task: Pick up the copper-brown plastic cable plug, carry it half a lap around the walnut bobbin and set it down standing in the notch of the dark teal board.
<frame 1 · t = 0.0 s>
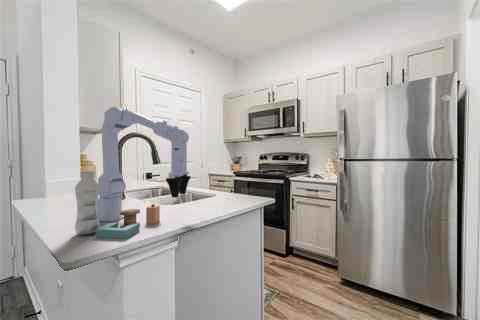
hand: (178, 195, 85), 10 cm above the counter, fingers open, 7 cm apart
plastic bottle: (87, 234, 71), on the counter
notch board: (118, 234, 71), on the counter
plug: (153, 222, 85), on the counter
bobbin: (130, 227, 78), on the counter
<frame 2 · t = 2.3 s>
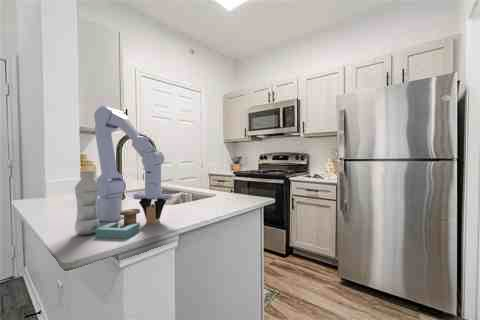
hand: (153, 218, 85), 1 cm above the counter, fingers closed on plug, 3 cm apart
plug: (153, 222, 85), on the counter, touching gripper
everything else where it was.
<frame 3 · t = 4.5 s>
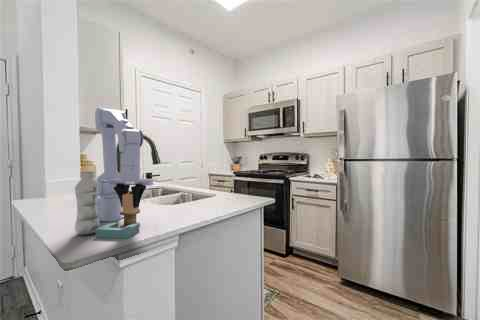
hand: (130, 207, 73), 8 cm above the counter, fingers closed on plug, 3 cm apart
plug: (130, 211, 73), point 7 cm above the counter, touching gripper
everything else where it was.
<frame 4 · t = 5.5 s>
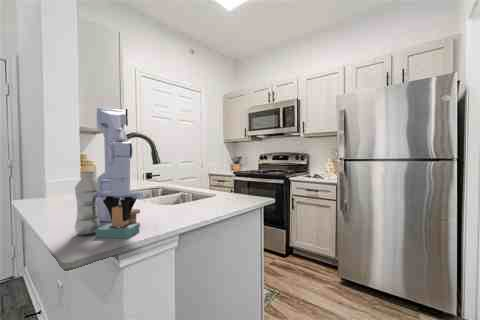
hand: (120, 220, 72), 4 cm above the counter, fingers closed on plug, 3 cm apart
plug: (120, 224, 72), point 3 cm above the counter, touching gripper
everything else where it was.
when the fingers open (3 cm above the counter, at t = 6.5 s): plug drops 1 cm, resting in notch board.
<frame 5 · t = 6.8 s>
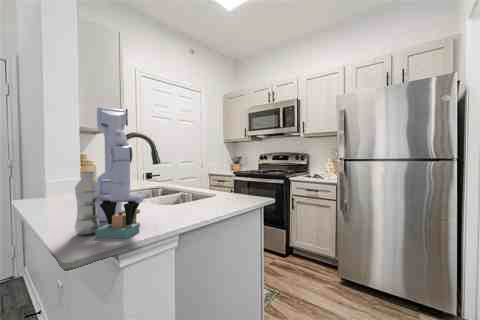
hand: (120, 224, 72), 3 cm above the counter, fingers open, 6 cm apart
plug: (120, 233, 72), resting in notch board
everything else where it was.
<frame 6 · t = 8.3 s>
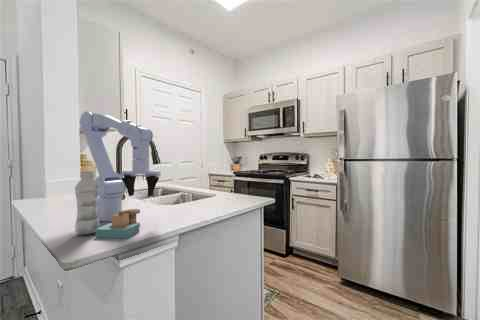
hand: (140, 195, 83), 10 cm above the counter, fingers open, 7 cm apart
nothing on the counter moved.
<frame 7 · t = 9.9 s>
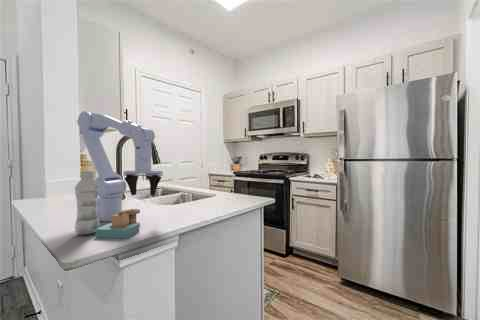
hand: (143, 195, 84), 10 cm above the counter, fingers open, 7 cm apart
nothing on the counter moved.
at the end: plug 0.1 cm from the target spot on the notch board, point 0.0 cm above the notch board's base; plug tilted 0°; the gripper is holding nothing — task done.
